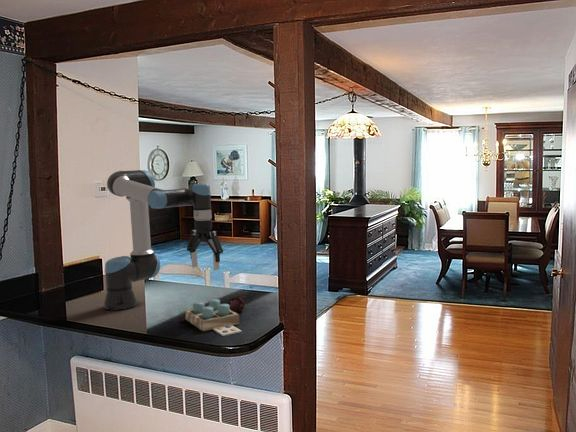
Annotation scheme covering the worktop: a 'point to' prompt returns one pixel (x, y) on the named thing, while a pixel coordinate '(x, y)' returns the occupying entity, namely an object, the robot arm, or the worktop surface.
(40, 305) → the worktop surface
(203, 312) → the teal domed cylinder
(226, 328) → the card
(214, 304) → the teal blunt egg shape
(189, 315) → the wooden compartment tray
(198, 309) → the teal rounded lump
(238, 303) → the icecream
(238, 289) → the worktop surface
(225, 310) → the teal blunt tapered piece
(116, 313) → the worktop surface
